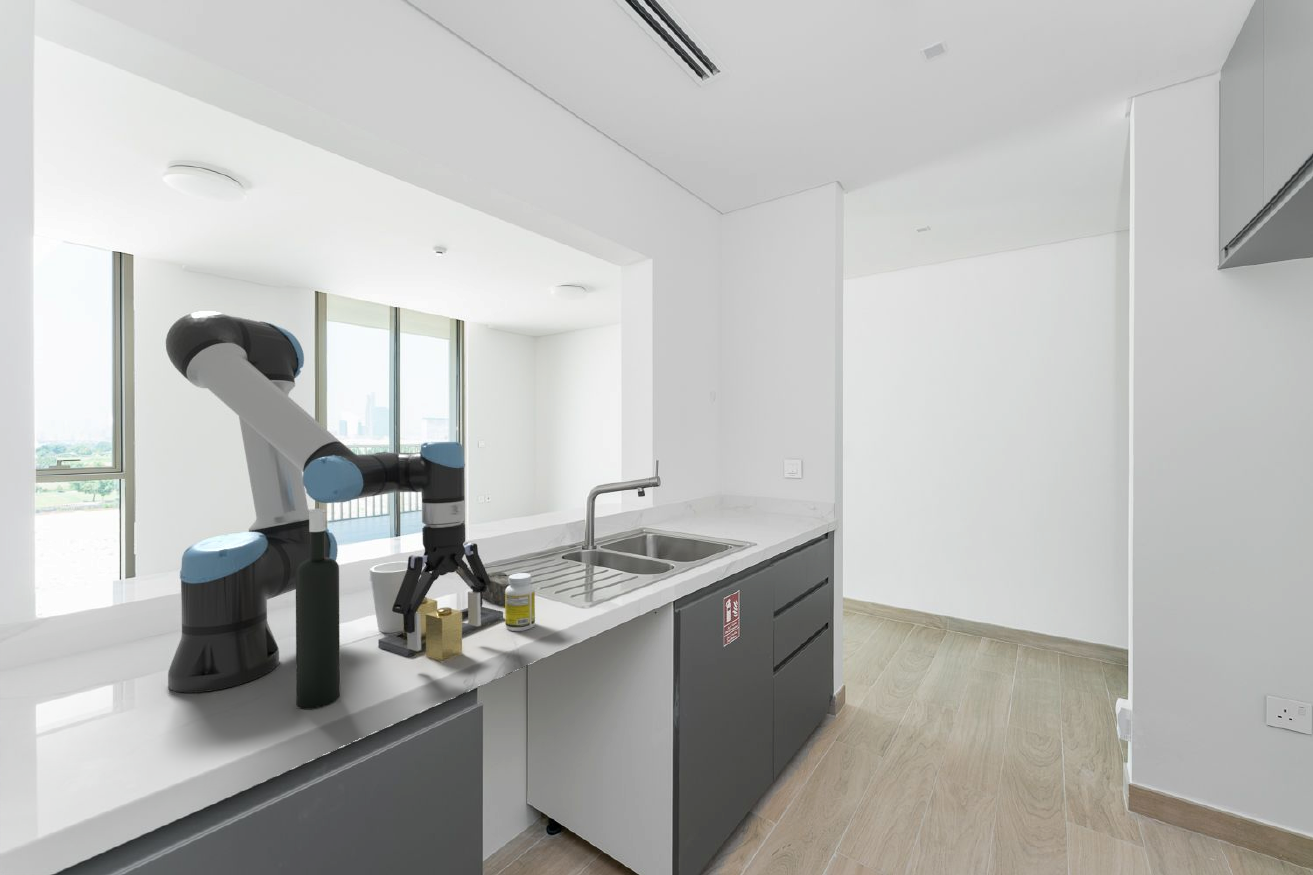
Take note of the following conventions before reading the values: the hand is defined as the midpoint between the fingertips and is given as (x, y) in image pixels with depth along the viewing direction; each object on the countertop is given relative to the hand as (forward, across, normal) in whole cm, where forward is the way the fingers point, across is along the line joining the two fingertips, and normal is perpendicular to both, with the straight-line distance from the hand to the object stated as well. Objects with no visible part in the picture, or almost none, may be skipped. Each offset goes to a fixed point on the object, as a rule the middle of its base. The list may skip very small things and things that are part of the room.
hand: (446, 636), depth 102 cm
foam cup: (+3, +4, +22) cm, 22 cm away
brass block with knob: (+3, +2, +10) cm, 11 cm away
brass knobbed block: (+4, 0, 0) cm, 4 cm away
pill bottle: (+4, +18, -1) cm, 18 cm away
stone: (+4, +29, +16) cm, 34 cm away
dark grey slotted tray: (+3, +8, +10) cm, 13 cm away
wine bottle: (+4, -22, +3) cm, 22 cm away
